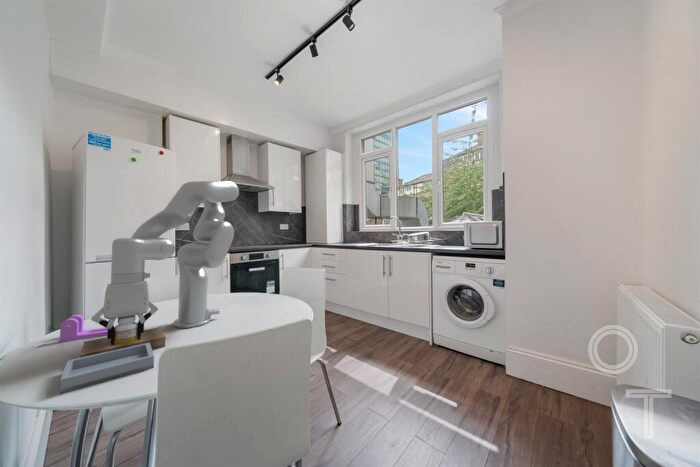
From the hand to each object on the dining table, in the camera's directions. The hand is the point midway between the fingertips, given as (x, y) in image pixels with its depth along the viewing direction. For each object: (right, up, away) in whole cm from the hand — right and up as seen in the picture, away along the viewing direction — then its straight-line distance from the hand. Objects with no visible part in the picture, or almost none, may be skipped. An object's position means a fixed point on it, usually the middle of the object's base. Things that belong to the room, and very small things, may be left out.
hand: (126, 337), depth 74 cm
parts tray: (+7, -3, -11) cm, 14 cm away
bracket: (-21, -4, +9) cm, 23 cm away
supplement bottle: (0, -4, 0) cm, 4 cm away
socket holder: (0, -3, 0) cm, 3 cm away
